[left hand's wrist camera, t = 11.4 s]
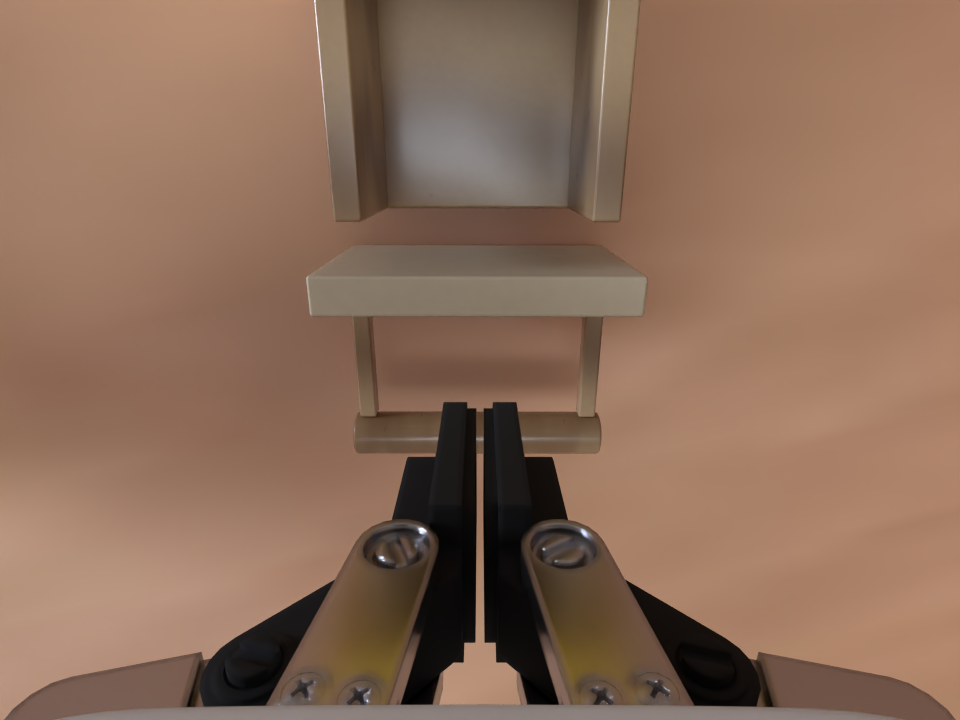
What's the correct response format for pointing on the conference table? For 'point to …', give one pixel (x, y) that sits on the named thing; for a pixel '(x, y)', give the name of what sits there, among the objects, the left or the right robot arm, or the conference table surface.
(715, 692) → the left robot arm
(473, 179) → the drawer
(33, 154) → the conference table surface
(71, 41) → the conference table surface
